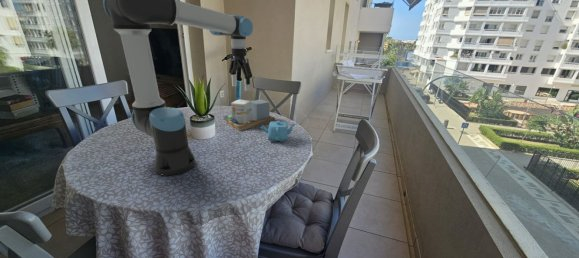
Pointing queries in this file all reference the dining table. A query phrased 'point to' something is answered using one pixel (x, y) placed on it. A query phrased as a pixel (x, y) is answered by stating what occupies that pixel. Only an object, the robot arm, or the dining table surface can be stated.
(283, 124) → the teapot
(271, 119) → the pallet
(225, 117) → the console
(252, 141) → the dining table surface
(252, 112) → the block
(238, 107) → the white labeled carton
